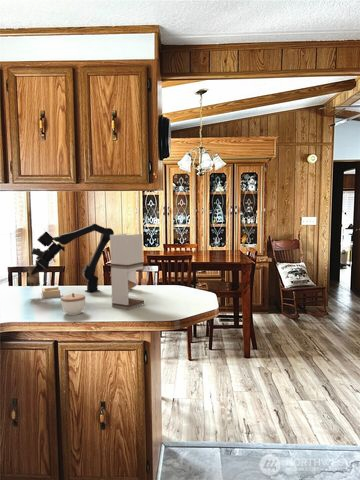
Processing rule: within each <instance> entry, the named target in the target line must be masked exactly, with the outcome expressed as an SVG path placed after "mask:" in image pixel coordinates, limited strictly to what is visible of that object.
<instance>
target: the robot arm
mask: <svg viewBox="0 0 360 480" xmlns="http://www.w3.org/2000/svg"><path fill="white" fill-rule="evenodd" d="M92 232H97V233H99V234H101V235H100V238H99V242H98V244H97V246H96V248H95V251H94V253H93V255H92V257H91V258H90V261H89V262H88V264H86V263H85V264H84V266H83V269H81V272H82V273H81V274H82V276H83V277H84V278H85V280H86V289H85V290H84V292H85V293H91V294H92V293H97V292H100V291H101V290H100V289H98V288H99V286H98V281H99V277H98V276H96V275H95V274H96V270H97V265H98V263H99V261H100V259H101V256H102V254H103V253H104V250H105V248H106V246H107V244H108V243H110V235H115V232H114V230H113V228H111V227H105V226H101V225H98V224H97V223H92V224H90V225H87V226H85V227H82V228H80V229H77V230H75V231H72V232H66V233H60V234H59V235H58V236H54V237H53V236H52V235H51V234H50V233H49V232H48V231H45V232H43V233H42V234H41V235H40V236H39V237H38V238H37V242H39V243H40V244H41V245H42V246H44V247H48V248H47V249H46V250H41V248H38V247H37V248H35V247H33V249H32V251H31V252H30V253H31V255H34V256H36V258H35V264H34V265H36V267H35V268H34V270H33V271H32V273H31V274H32V275H33V274H35V273H38V272H39V273H40V272H42V271H44V270H47V269H48V268H49V267H50V265H49V264H50V262H51V261H52V260H53V259H55V257H56V256H57V255H58V253H60V252H61V251H62V252H65V251H66V250H65V248H66V247H65V246H64V245H68V244H70V243H72V241H75V239H77V238H80V237H83V236H85V235H87V234H89V233H92Z"/></svg>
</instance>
